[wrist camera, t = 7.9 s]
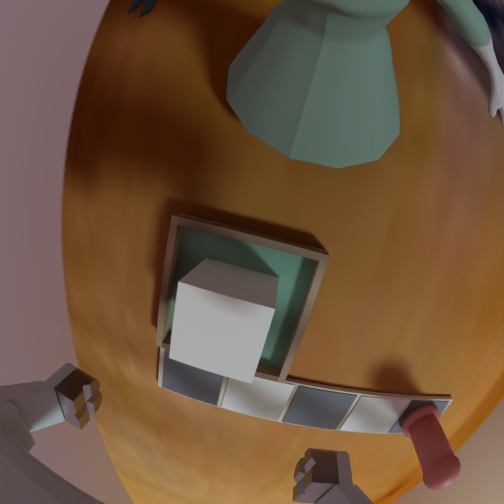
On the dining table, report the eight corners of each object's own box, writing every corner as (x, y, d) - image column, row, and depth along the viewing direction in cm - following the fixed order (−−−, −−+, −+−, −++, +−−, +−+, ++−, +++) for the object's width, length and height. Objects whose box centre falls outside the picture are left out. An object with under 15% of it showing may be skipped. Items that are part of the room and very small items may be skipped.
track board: (163, 340, 21) (160, 344, 20) (451, 396, 19) (453, 399, 18) (159, 383, 22) (157, 387, 22) (426, 429, 20) (427, 433, 19)
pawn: (415, 403, 19) (445, 475, 10) (444, 403, 18) (477, 467, 10) (394, 431, 20) (414, 501, 11) (423, 430, 19) (447, 493, 11)
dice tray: (180, 212, 18) (171, 215, 17) (326, 250, 18) (329, 255, 16) (163, 336, 21) (155, 345, 19) (284, 371, 20) (283, 383, 19)
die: (206, 257, 18) (178, 281, 14) (279, 277, 18) (275, 308, 13) (195, 321, 20) (168, 357, 15) (260, 340, 19) (251, 383, 14)
